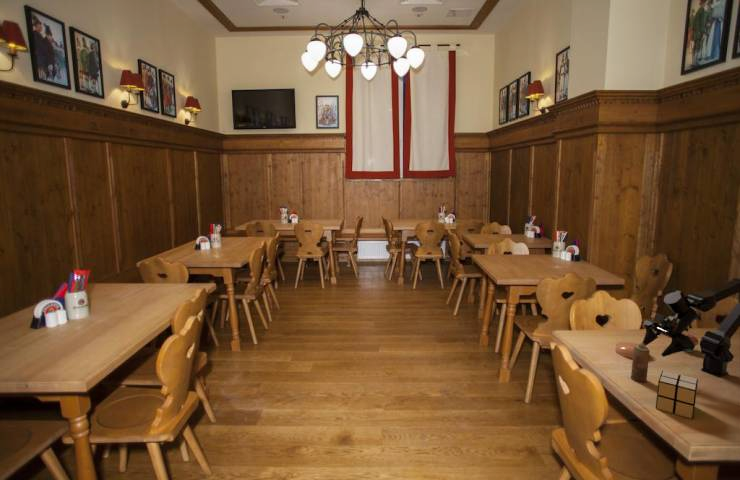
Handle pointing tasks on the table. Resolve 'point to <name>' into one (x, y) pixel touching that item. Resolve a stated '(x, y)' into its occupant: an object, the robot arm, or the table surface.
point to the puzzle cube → (676, 394)
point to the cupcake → (691, 339)
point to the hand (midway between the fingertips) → (652, 350)
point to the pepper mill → (640, 363)
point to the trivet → (625, 349)
